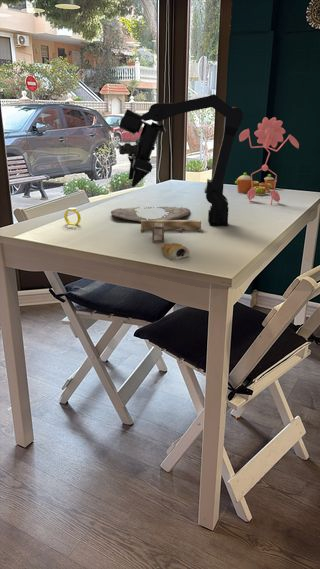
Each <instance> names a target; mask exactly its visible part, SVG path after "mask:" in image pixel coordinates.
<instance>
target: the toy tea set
mask: <svg viewBox="0 0 320 569" xmlns="http://www.w3.org/2000/svg"><path fill="white" fill-rule="evenodd" d="M263 179H264V182H260V183H259V181H257V180H252V183H251V175H248V174H247V172H243V175H240V176H239V177H238V178H236V180H235V181H234V184H235V185H237V186H236V187H237V193H238V194H247V193H248V191H249V190H250V189H252V185H253V189H255V190H256V195H255V196H265V195H266V194H268V193H269V192H271V191H270V190H274V185H275V187H276V184H277V182H278V181H277V179H276V184H275V178H274V177H272V174H270V173H269V174H267V176H265V177H264V178H263Z"/></svg>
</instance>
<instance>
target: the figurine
mask: <svg viewBox="0 0 320 569" xmlns="http://www.w3.org/2000/svg"><path fill="white" fill-rule="evenodd" d="M282 125H283V121H282V120H277V117H274V116H273V117H272V118H270V119H269V118H268V117H266V116H265V117H263V119H262V122H259V123H258V124H257V130H256V131H254V135H255V137H257V140H256V141H257V143H258V144H262V145H257V146H253V145H252V141H251V136H250V133H251V132H250V128H247V129H244V130H242V131H241V132H240V134H239V136H238V140H239V142H244V141H245V140H246V139H248V141H249V146H250V148H251V149H254V148H255V149H257V148H258V149H259V148H264V149H265V150H266V151H267V153H268V155H267V157H266V161H265V164H262V166H261V168H260V169H258V170H255V171H253V172H252V173H251V174H250V177H251V183H252V181H253V175H254V174H256V173H258V172H260V171H261V170H262V171H264V172H266V171H269V172H271V173H272V174H274V176H275V178H274V180H275V184H277V182H276V180H277V177H278V175H277V174H276V173H275V172H274V171H272V170H271V169H269V166H268V165H267V163H268V160H269V157H270V155H271V152H270V150H271V151H273V152H277V153H278V151H279V150H280V149H281V148H282V147H283V146H284V144H285V143H286V142H287V141H288V140H289V142H290V143H291V145H293V146H294V148H296V149H299V148H300V147H299V146H300V143H299V141H298V140H297V139H296V138H295V137H294V136H293V135H292V134H288V136H287V138H286V139H285V140H284V136H283V135H284V134H285V133H287V132H286V130H285V129H284V128H283V127H282ZM278 142H279V143H281V145H280V146H279V147H278V148H277V149H276V147H277V146H278ZM270 146H271V147H272V148H271V147H270ZM268 149H269V150H268ZM275 189H276V186H275V185H274V189H270V190H271V191H269V192H270V198H269V197H266V199H269V200H270V203H269V204H270V206H272V204H273V201H275V202H277V203H279V202H280V200H281V197H280V196H281V195H280V193H278V191H277V190H275ZM246 196H247V197H246V198H247V200H249V204H251V202H252V200H253V199H255V198H256V196H257V195H256V190H255V189H253V185H252V189H250V190H249V191H248V193H246ZM286 206H287V205H286V204H285V205H284V207H286Z"/></svg>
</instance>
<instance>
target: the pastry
mask: <svg viewBox="0 0 320 569" xmlns="http://www.w3.org/2000/svg"><path fill="white" fill-rule="evenodd" d="M160 251H161V252H162V255H163V256H164V257H165V258H167V259H169V260H173V261H174V260H176V261H177V260H181V259H186V258H188V257H189V255H190V250H189V248H188V247H187V246H185V245H182V244H181V243H175V242H174V243H163V245H162V246H161V247H160Z"/></svg>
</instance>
